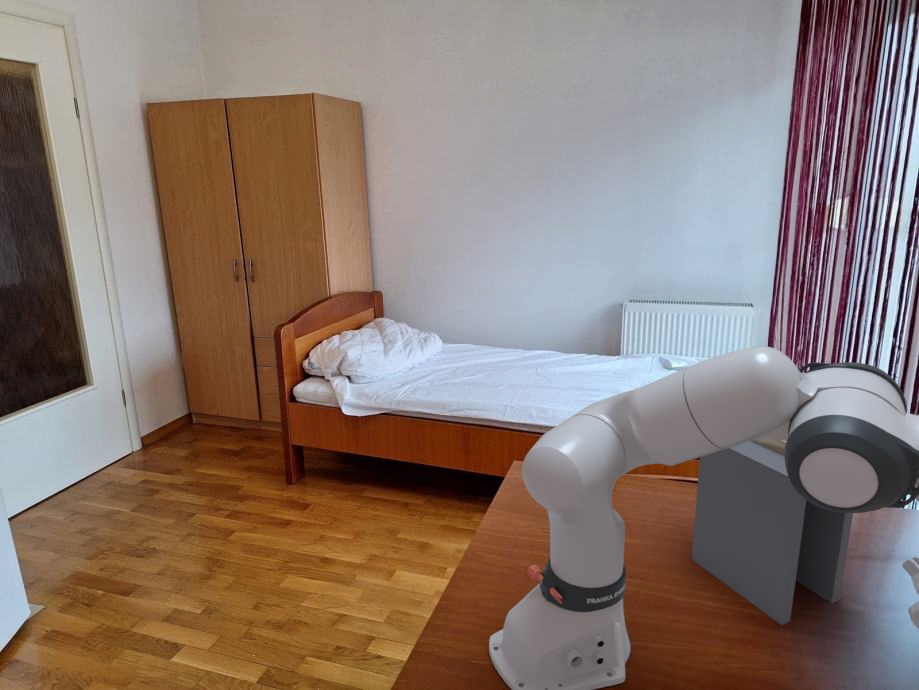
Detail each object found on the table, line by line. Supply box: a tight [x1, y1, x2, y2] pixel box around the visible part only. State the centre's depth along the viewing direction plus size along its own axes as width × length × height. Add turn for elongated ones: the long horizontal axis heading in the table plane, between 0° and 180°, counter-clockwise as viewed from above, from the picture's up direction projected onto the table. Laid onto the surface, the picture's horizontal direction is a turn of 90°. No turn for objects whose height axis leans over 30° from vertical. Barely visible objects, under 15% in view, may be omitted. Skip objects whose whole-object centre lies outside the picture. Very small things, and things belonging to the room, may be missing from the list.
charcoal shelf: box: [691, 441, 854, 626], centre depth 110 cm, size 14×20×26 cm
